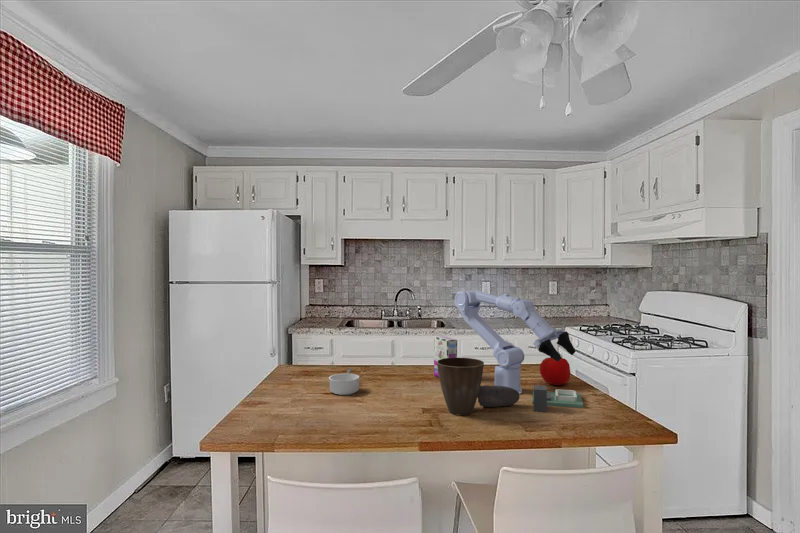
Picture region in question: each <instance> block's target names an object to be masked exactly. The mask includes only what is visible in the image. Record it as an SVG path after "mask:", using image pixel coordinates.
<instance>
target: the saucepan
mask: <svg viewBox="0 0 800 533" xmlns="http://www.w3.org/2000/svg"><path fill="white" fill-rule="evenodd" d="M352 369H353V368H351V367H350V368H348V369H347V371H346V373H337V374H331V375H330V376H328V379H329V391H330V393H332V394H334V395H337V394H338V396H349V395H352V394H355V393H356V392H358V391H359V390H360V377H361V376H360V375H359V374H355V373H351V372H352Z"/></svg>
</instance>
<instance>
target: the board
mask: <svg viewBox="0 0 800 533" xmlns="http://www.w3.org/2000/svg"><path fill="white" fill-rule="evenodd" d="M531 401H532V405H534V389H533V390H532V400H531ZM547 406H549V407H550V406H551V407H552V406H553V407H562V408H563V407H567V408H577V409H578V408H579V409H583V408H584V403H583V399H582V395H581V393H579V392H576V390H575V389H573V390H572V389H559V388H558V389H556V388H555V391H550V390H547Z"/></svg>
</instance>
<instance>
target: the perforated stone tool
mask: <svg viewBox="0 0 800 533" xmlns="http://www.w3.org/2000/svg"><path fill="white" fill-rule="evenodd" d="M520 396H521V395H520V394H519V392H518V391H516V390H515V389H513V388H510V387H505V386H494V385H486V384H485V385H480V389H479V393H478V397H477V401H478V404H479V406H480V407H485V408H497V407H498V408H499V407H508V406H513V405H515V404H516V403H518V402H519V400H520Z"/></svg>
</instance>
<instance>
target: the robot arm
mask: <svg viewBox="0 0 800 533" xmlns="http://www.w3.org/2000/svg"><path fill="white" fill-rule="evenodd" d="M481 303H485V304H490V305H494V306H496V307H497V309H498V310H500V311H503V312H508V313H510V314H513V315H514V316H515V317H518V318H520V319H521V320H522V321H523V322H524V323H525V324H526V325H527V326H528V327H529V328H530V330H531V331H532V332H533V333H534V334H535V336H536V337H537V339H535V340H534V342H533V345H534V346H535V348H537V351H538V352H539V353H543V354H544V355H546V356H548V357H549V358H550V357H551V358H553V359H554V360H556V361H557V362H558V361H559V360H560V359H561V358H563V356H561V354H560V353H559V351H557V350H556V348H555V346H554V345H553V343H552V341H554V340H556V339H557V342H556V344H557V345H559V346H561V348H563V349H564V350H565V351H566V352H567V353H568V354H569V355H571V356H573V355H574V354H575V352H576V348H575V347H574V345H573V344H572V342H571V339H570V335H569V332H568V331H565V329H564V328H561V329H556V328H553V327H552V326H551V325H550V324H549V323H548V322H547V321H546V319H545V318H544V317H543V316H542V315H541V314H540V313H539V312H538V311H537V310H536V309H535V305H534V303H533V301H531V299H528V298H524V299H521V298H520V297H519V296H516V297H513V296H510V293H509V294H508V293H504V294H501V295H499V296H497V295H494V294H491V293H487V292H485V291H482V290H475V289H473V290H464V291H463V290H462V291H458V292H456V294H455V295H454V306H455V307H456V308H457V309H458V310H459V311H460V314H461V316H462V319H463V320H464V322H465V323H466V324H467V325H468V326H469V327H470V328H471V329H472V330H473V331H474V332H475V333H477V335H478V336H479V337H480V338H481V339H482V340H483V341H484V342H485V343H486V344H487V345H488V346H489V347H490V348H491V349H492V350H493V352H492V355H493V357H494V358H495V359H496V361H497V364H498V365H495V366H494V382H493V384H494V386H505V387H510V388H513V389H515V390H516V391H518V392H519V395H520V394H522V391H523V387H522V386H521V385H522V384H521V383H522V382H521V379H522V378H521V367H522V363H523V362H524V360H525V354H524V350H523V349H521V348H520V347H519V346H516V345H515V344H513V343H512V342H509V341H506V340H505V339H504V338H502V336H500V334H498V332H496V330H494V329H493V328H492V327H491V325H489V324H488V323H487V322H486V321H485V320H484V319H483V318H482V317H481V316H480V315H479V312H480V307H481Z"/></svg>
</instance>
